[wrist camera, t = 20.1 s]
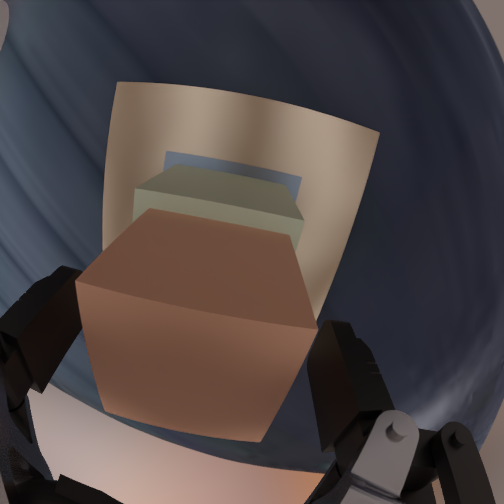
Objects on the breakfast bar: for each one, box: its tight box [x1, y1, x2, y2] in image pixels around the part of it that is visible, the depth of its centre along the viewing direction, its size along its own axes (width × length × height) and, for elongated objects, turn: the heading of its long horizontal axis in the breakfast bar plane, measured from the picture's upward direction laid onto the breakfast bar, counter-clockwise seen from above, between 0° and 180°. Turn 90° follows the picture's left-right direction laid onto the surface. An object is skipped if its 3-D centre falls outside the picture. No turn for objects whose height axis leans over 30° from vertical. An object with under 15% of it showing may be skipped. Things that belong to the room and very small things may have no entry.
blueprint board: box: [103, 82, 380, 320], centre depth 17 cm, size 15×15×1 cm
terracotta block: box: [75, 208, 318, 442], centre depth 8 cm, size 5×5×5 cm
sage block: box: [132, 164, 305, 252], centre depth 13 cm, size 6×6×6 cm
